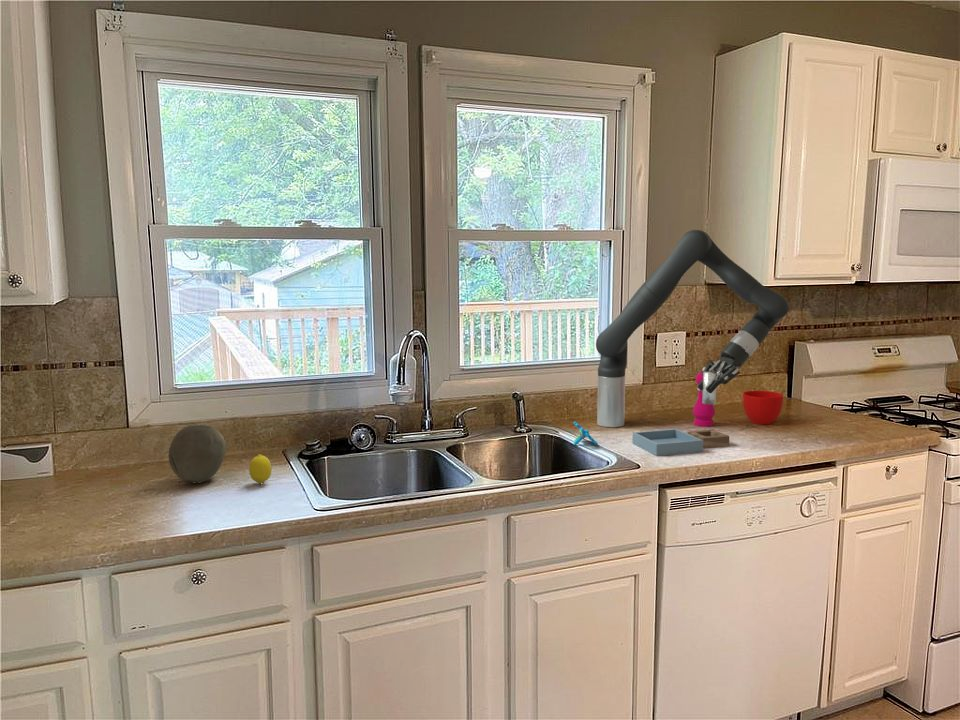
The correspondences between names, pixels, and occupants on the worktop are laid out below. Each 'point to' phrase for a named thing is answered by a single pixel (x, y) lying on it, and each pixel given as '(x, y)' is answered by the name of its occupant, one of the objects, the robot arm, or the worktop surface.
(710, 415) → the pepper mill
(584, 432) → the blue branched flat part
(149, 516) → the worktop surface
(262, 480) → the lemon
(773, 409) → the ceramic cup
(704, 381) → the pin
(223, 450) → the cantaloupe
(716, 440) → the socket block
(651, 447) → the parts tray
